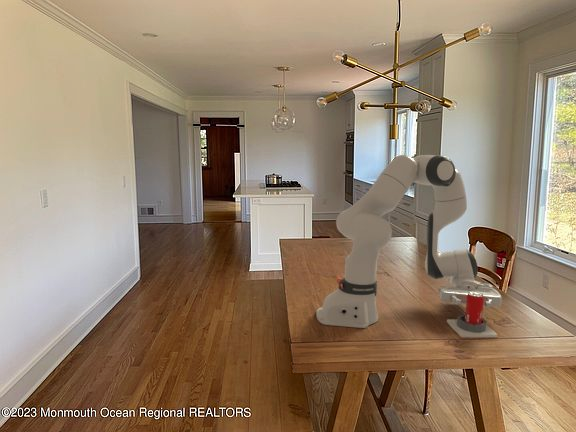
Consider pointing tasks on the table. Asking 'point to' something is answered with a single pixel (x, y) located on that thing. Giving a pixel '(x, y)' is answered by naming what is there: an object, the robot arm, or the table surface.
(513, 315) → the table surface
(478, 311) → the beverage can
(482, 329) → the mount
